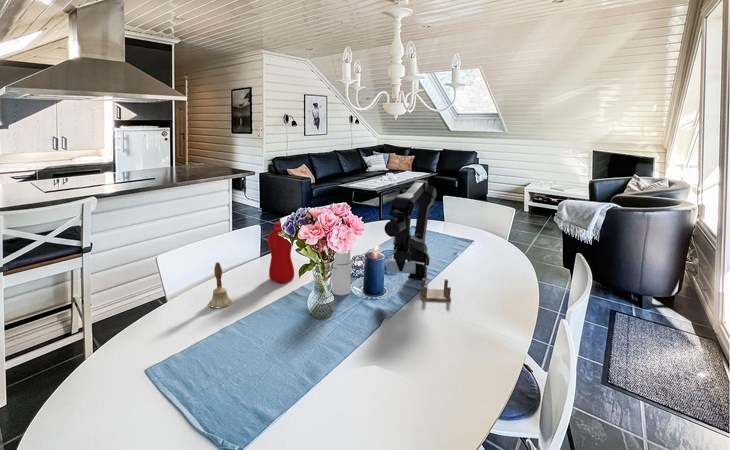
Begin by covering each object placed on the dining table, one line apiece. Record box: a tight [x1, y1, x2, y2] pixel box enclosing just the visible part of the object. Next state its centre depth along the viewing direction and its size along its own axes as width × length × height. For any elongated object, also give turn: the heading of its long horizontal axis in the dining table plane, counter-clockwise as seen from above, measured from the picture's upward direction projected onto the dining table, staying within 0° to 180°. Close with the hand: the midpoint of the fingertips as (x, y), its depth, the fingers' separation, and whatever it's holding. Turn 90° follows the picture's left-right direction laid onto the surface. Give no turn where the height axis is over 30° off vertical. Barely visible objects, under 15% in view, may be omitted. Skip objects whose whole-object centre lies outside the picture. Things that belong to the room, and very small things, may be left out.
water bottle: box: [266, 221, 295, 284], centre depth 161 cm, size 9×11×25 cm
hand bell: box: [208, 261, 233, 308], centre depth 140 cm, size 8×8×16 cm
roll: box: [385, 260, 416, 274], centre depth 148 cm, size 11×4×4 cm, turn 86°
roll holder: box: [420, 278, 452, 302], centre depth 150 cm, size 11×8×6 cm
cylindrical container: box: [331, 248, 352, 296], centre depth 150 cm, size 7×7×25 cm
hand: (400, 268), depth 148 cm, fingers closed on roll, 4 cm apart
